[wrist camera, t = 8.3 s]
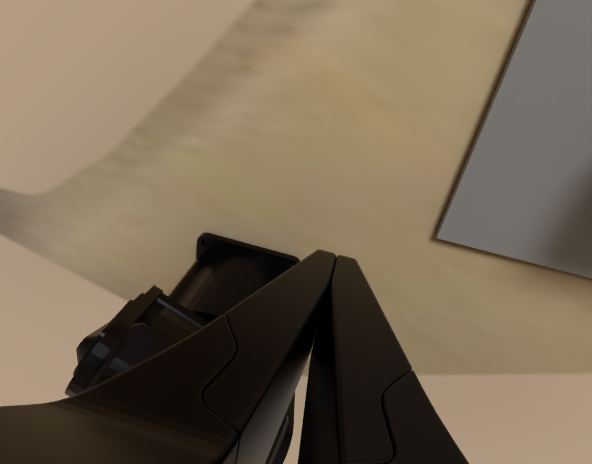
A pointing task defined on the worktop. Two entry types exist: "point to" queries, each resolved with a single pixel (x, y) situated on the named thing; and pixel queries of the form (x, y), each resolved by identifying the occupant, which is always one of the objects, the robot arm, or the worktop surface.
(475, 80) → the worktop surface
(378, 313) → the robot arm
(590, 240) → the mat
